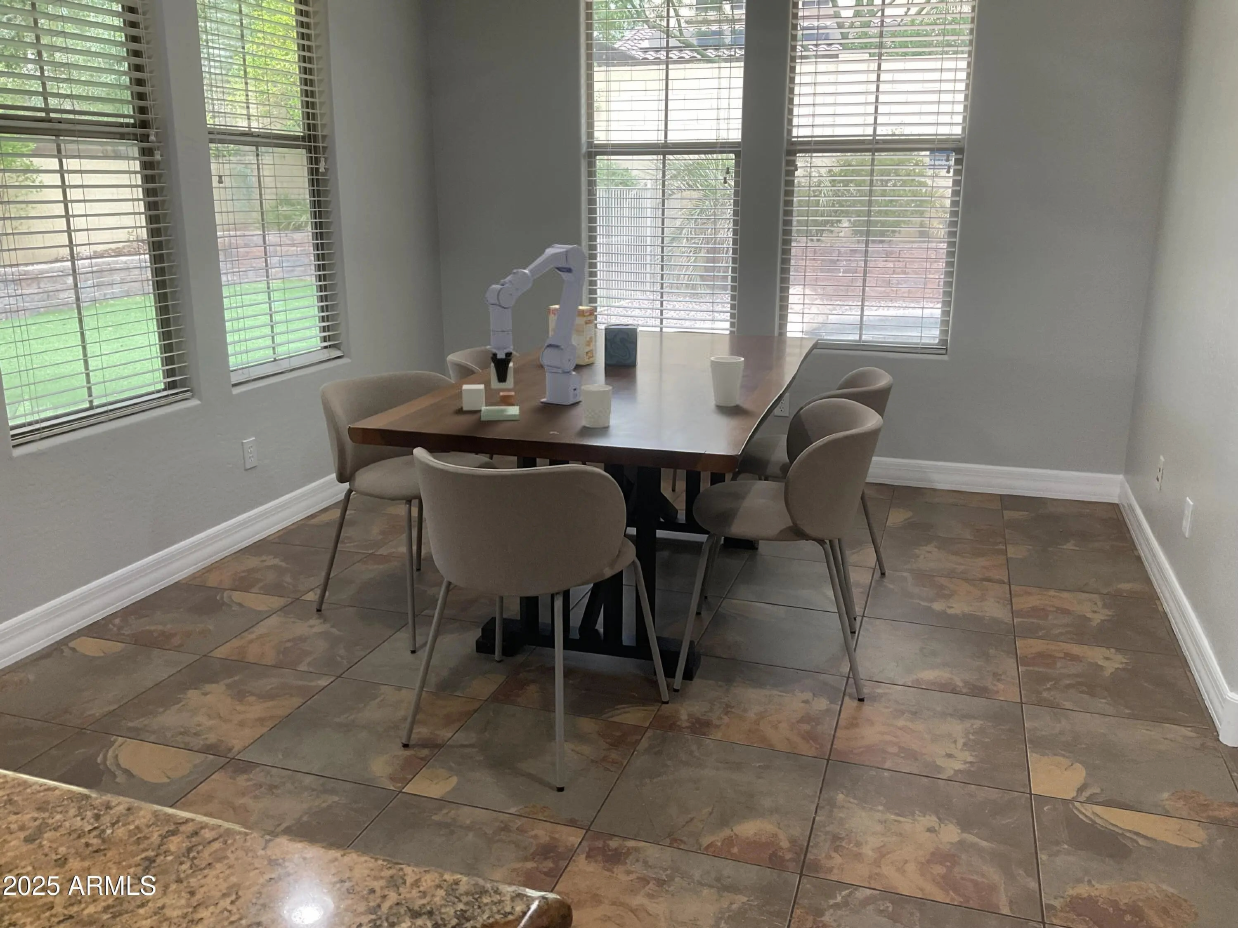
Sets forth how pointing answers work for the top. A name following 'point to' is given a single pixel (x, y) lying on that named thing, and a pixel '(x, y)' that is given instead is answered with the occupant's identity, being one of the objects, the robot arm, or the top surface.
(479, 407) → the cover
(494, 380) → the cream matte cube
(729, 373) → the foam cup
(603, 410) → the white cup
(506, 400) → the orange brown block
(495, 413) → the coaster
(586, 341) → the coffeecake box
